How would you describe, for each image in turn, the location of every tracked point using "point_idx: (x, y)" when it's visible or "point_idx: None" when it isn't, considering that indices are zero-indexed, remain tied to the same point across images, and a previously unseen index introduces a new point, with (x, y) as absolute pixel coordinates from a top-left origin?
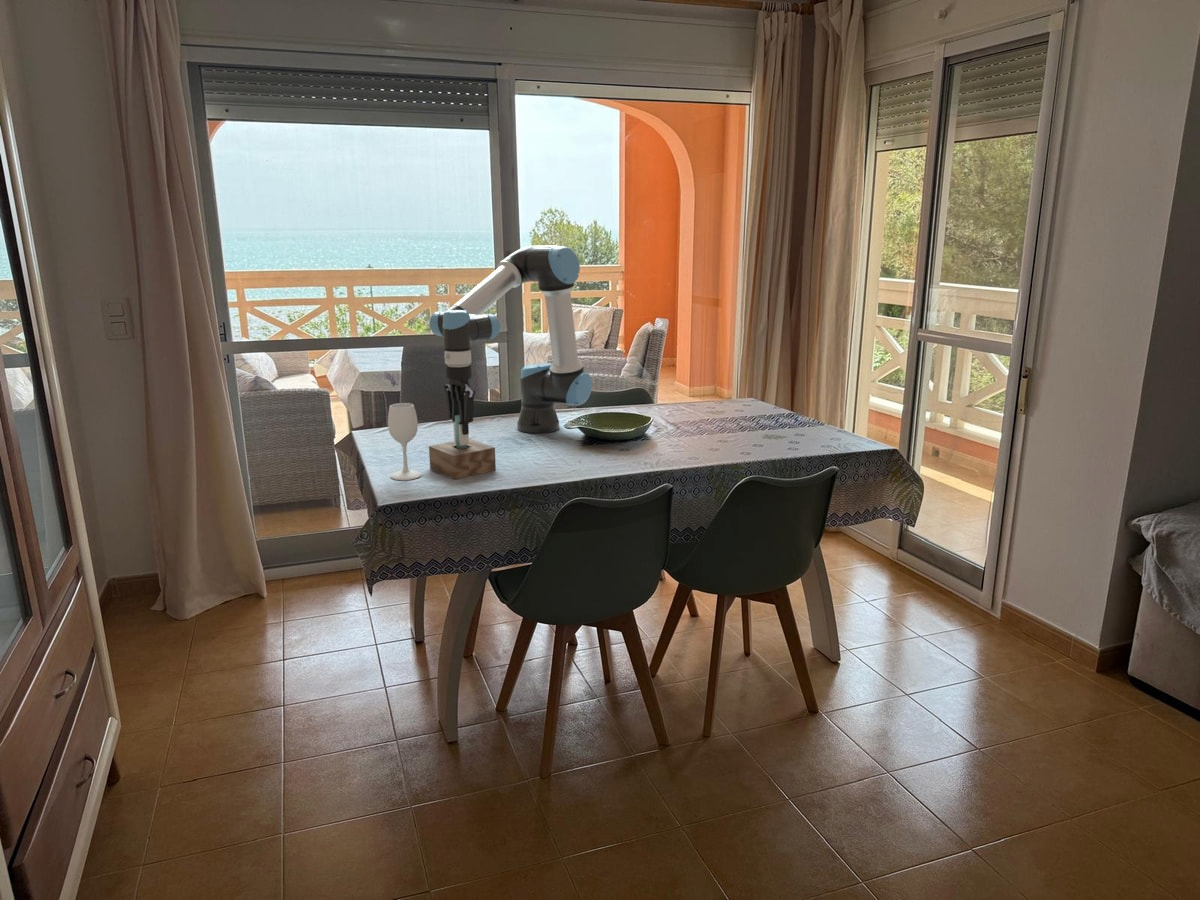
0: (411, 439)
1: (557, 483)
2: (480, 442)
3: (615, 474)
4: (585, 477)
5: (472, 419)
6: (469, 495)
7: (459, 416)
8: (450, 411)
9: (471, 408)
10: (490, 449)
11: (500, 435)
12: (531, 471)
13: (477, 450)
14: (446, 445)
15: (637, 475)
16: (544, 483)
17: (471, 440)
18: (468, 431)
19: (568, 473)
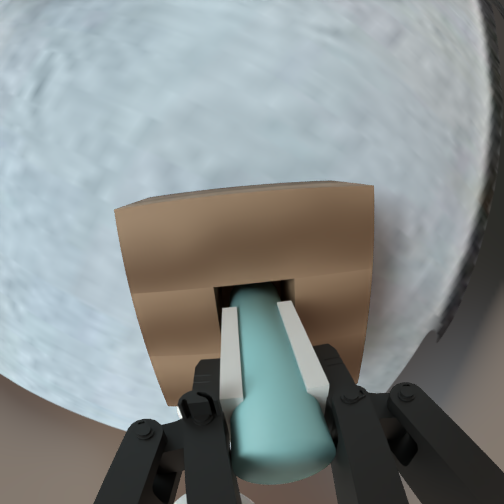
0: (242, 494)
1: (491, 135)
2: (234, 195)
3: (478, 19)
4: (481, 63)
5: (422, 396)
6: (436, 340)
7: (310, 470)
8: (174, 499)
9: (476, 465)
10: (371, 213)
11: (3, 30)
12: (403, 101)
13: (363, 284)
14: (192, 360)
15: (487, 11)
16: (482, 156)
17: (160, 218)
18: (337, 354)
19: (451, 57)
